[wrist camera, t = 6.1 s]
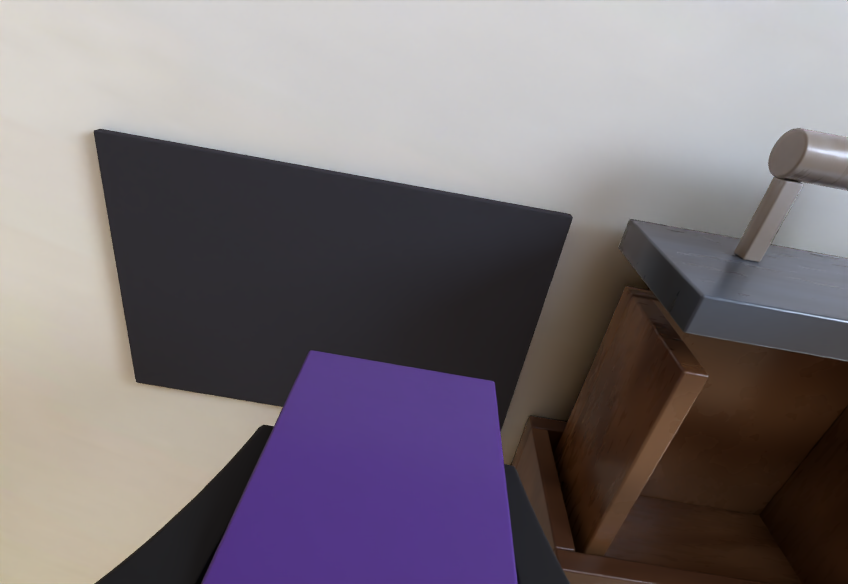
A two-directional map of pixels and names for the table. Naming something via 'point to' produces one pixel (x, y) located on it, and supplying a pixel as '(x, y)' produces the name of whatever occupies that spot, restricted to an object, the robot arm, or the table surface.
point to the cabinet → (588, 574)
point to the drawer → (722, 398)
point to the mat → (314, 270)
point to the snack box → (375, 483)
